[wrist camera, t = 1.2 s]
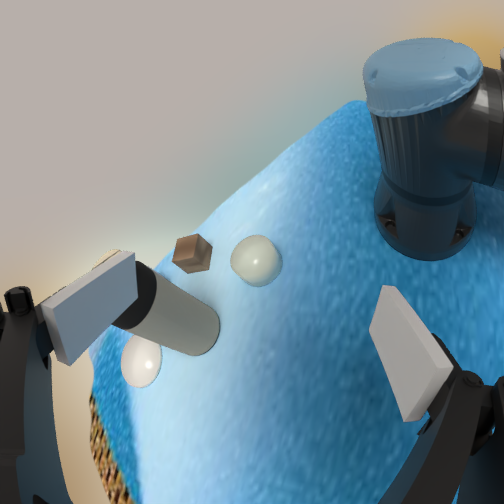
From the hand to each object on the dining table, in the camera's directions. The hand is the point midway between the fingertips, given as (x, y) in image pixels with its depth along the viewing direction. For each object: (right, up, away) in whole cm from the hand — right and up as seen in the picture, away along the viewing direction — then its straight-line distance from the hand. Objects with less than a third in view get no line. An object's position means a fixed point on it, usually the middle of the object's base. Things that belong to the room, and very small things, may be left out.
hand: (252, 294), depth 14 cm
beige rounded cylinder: (+1, 0, +27) cm, 27 cm away
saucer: (-19, -16, +28) cm, 37 cm away
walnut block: (-9, +1, +33) cm, 34 cm away
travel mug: (-8, -10, +26) cm, 29 cm away
